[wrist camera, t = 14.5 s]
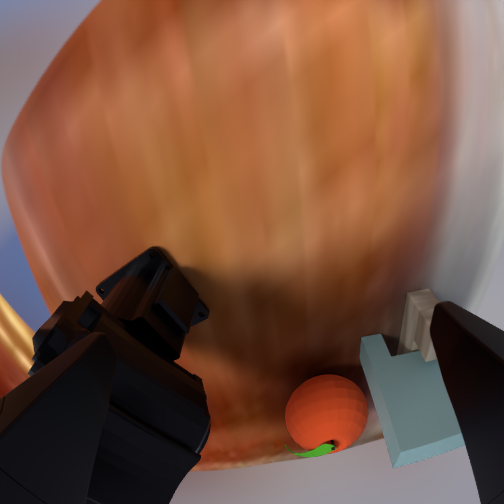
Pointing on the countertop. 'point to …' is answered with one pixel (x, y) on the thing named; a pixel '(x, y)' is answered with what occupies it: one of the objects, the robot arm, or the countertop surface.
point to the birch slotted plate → (418, 324)
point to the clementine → (326, 414)
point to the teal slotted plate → (409, 403)
